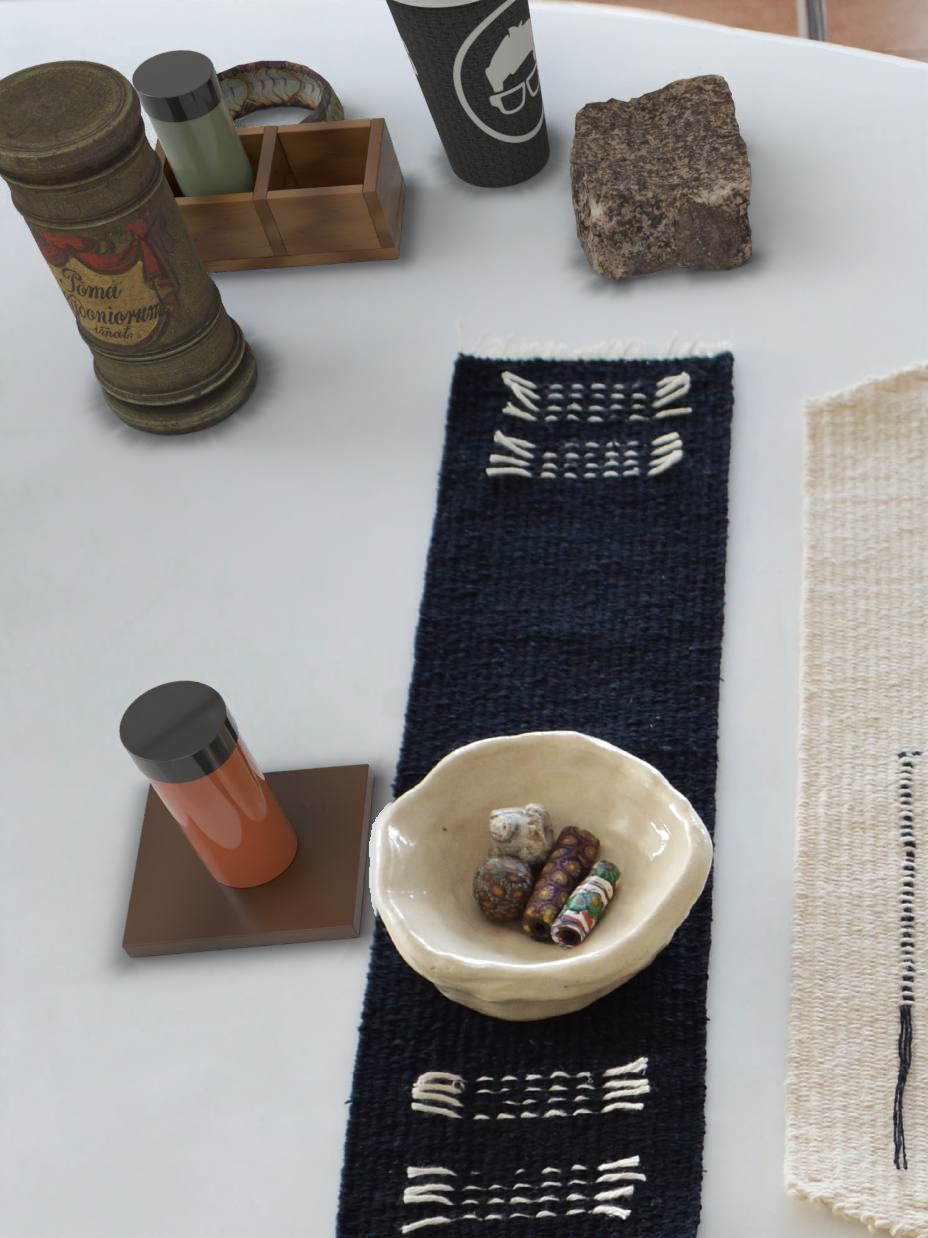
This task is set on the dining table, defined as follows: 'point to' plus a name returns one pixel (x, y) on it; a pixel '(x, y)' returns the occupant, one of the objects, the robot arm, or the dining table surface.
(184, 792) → the spice jar
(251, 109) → the decorative ring
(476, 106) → the coffee cup
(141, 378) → the container
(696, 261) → the stone
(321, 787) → the board
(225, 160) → the jar
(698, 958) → the dining table surface
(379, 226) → the spice rack
